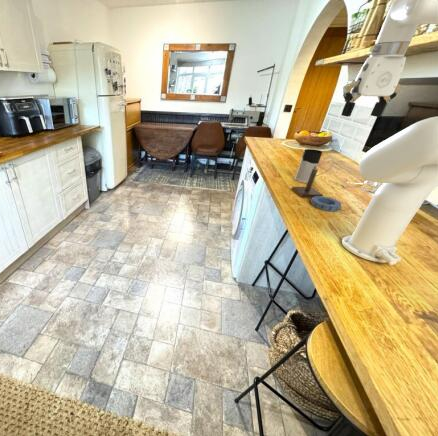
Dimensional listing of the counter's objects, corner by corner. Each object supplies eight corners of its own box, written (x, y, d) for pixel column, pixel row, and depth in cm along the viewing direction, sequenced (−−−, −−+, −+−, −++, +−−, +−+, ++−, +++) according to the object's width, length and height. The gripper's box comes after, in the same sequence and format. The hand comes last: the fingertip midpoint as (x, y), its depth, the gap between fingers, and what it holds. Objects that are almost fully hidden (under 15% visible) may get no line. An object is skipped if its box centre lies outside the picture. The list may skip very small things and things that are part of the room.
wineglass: (349, 174, 112) (383, 176, 107) (345, 176, 118) (376, 179, 113) (346, 188, 112) (379, 191, 107) (342, 190, 118) (373, 193, 113)
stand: (321, 197, 106) (332, 173, 100) (301, 197, 106) (310, 172, 100) (310, 189, 113) (319, 166, 108) (291, 189, 114) (299, 166, 108)
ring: (345, 211, 95) (347, 206, 94) (319, 211, 95) (321, 206, 94) (328, 200, 104) (330, 196, 103) (305, 200, 104) (307, 195, 103)
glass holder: (298, 175, 130) (307, 147, 122) (327, 183, 120) (339, 153, 113) (291, 179, 125) (300, 150, 118) (320, 187, 116) (332, 156, 108)
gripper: (369, 50, 65) (342, 117, 73) (431, 50, 65) (397, 118, 74) (348, 52, 71) (326, 114, 80) (406, 52, 71) (377, 114, 80)
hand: (360, 116), depth 77 cm, fingers open, 9 cm apart
